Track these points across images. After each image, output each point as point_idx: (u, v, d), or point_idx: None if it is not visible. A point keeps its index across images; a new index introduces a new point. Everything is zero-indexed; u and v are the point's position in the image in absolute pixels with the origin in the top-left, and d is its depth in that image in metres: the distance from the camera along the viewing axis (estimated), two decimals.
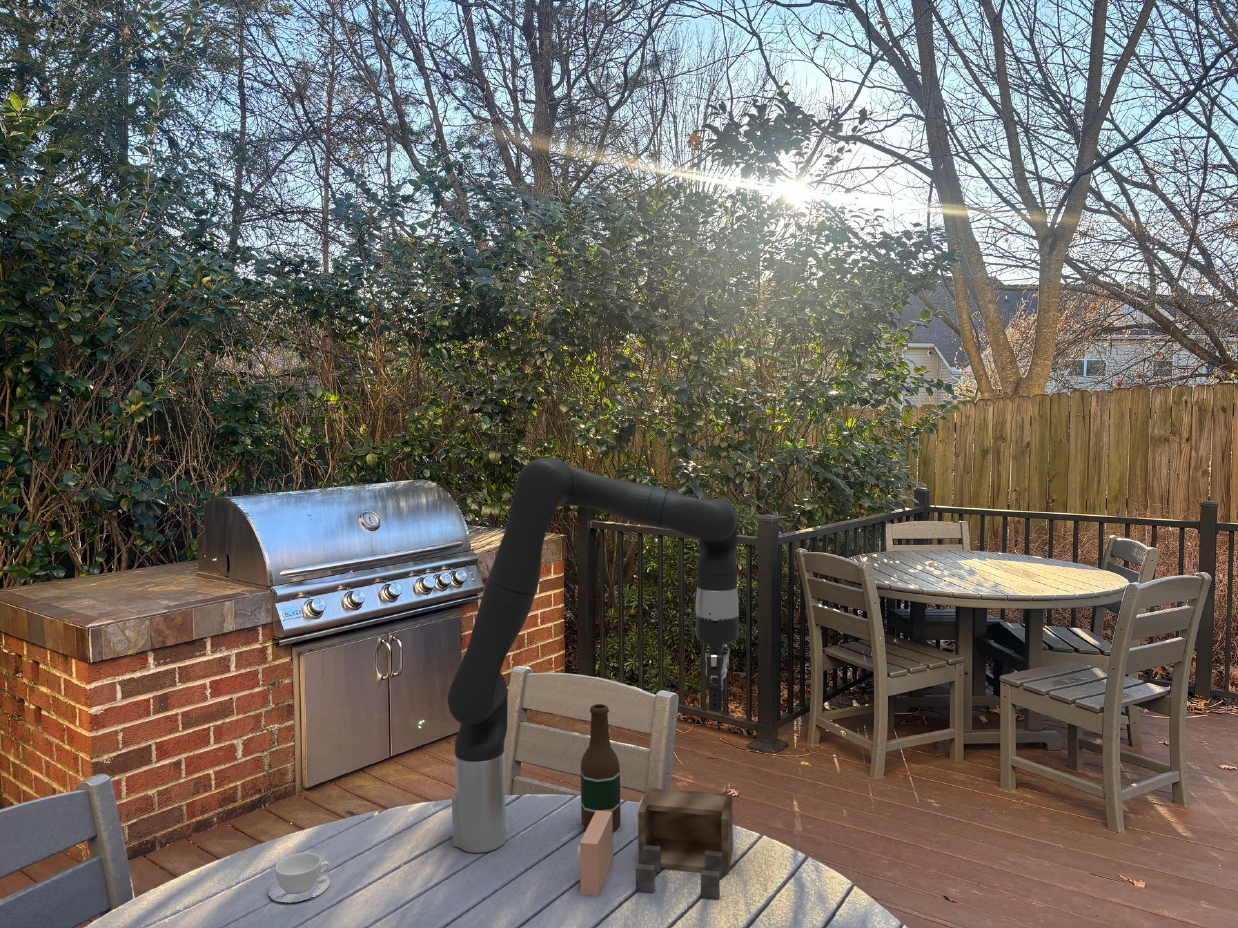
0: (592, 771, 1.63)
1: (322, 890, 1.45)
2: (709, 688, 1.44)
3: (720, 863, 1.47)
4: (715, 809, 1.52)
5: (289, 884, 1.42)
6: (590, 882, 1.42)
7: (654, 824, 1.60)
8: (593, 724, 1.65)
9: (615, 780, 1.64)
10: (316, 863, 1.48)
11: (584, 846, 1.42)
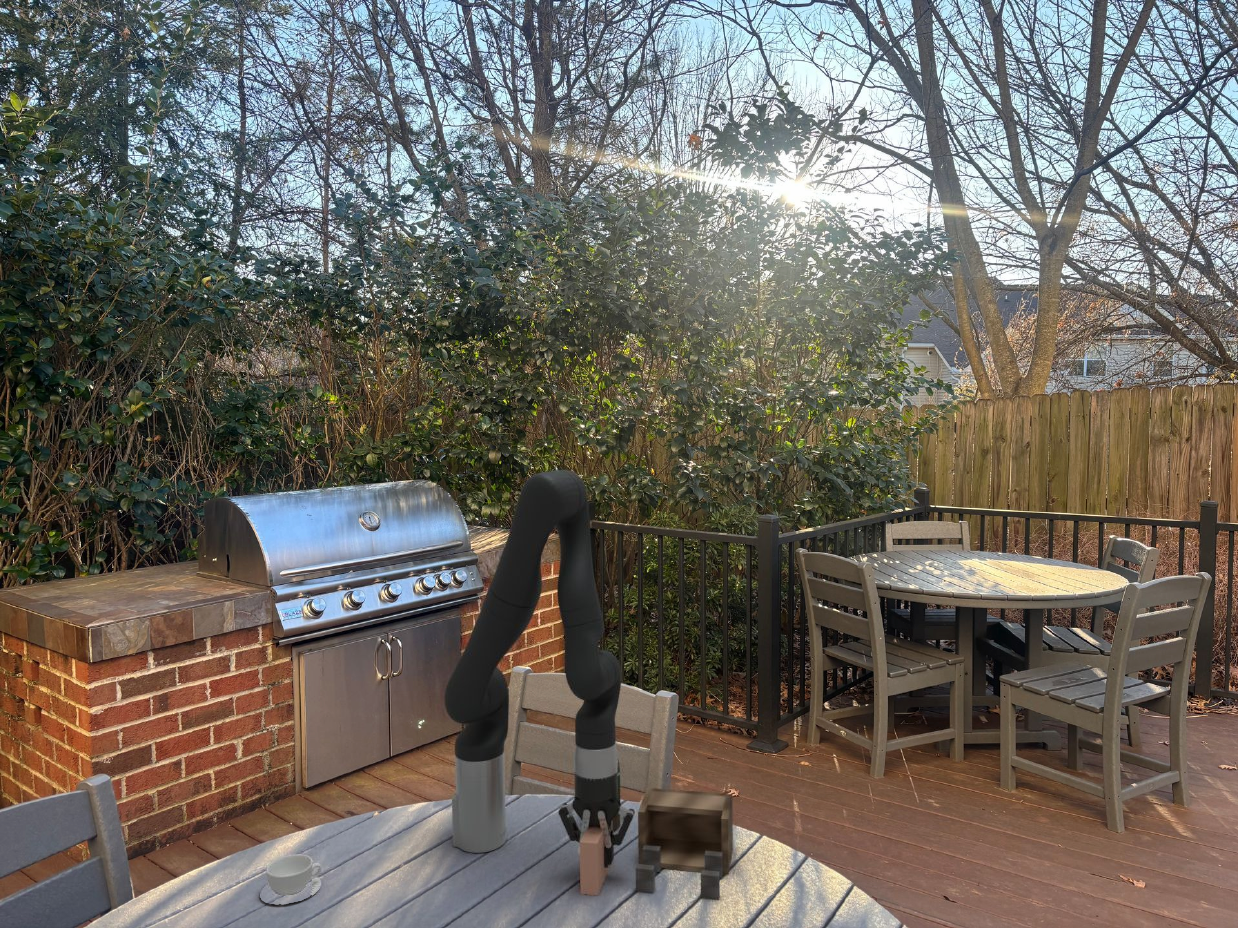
0: None
1: (313, 892, 1.44)
2: None
3: (720, 863, 1.47)
4: (715, 809, 1.52)
5: (281, 886, 1.42)
6: (590, 881, 1.42)
7: (654, 824, 1.60)
8: None
9: None
10: (307, 865, 1.47)
11: (584, 845, 1.42)
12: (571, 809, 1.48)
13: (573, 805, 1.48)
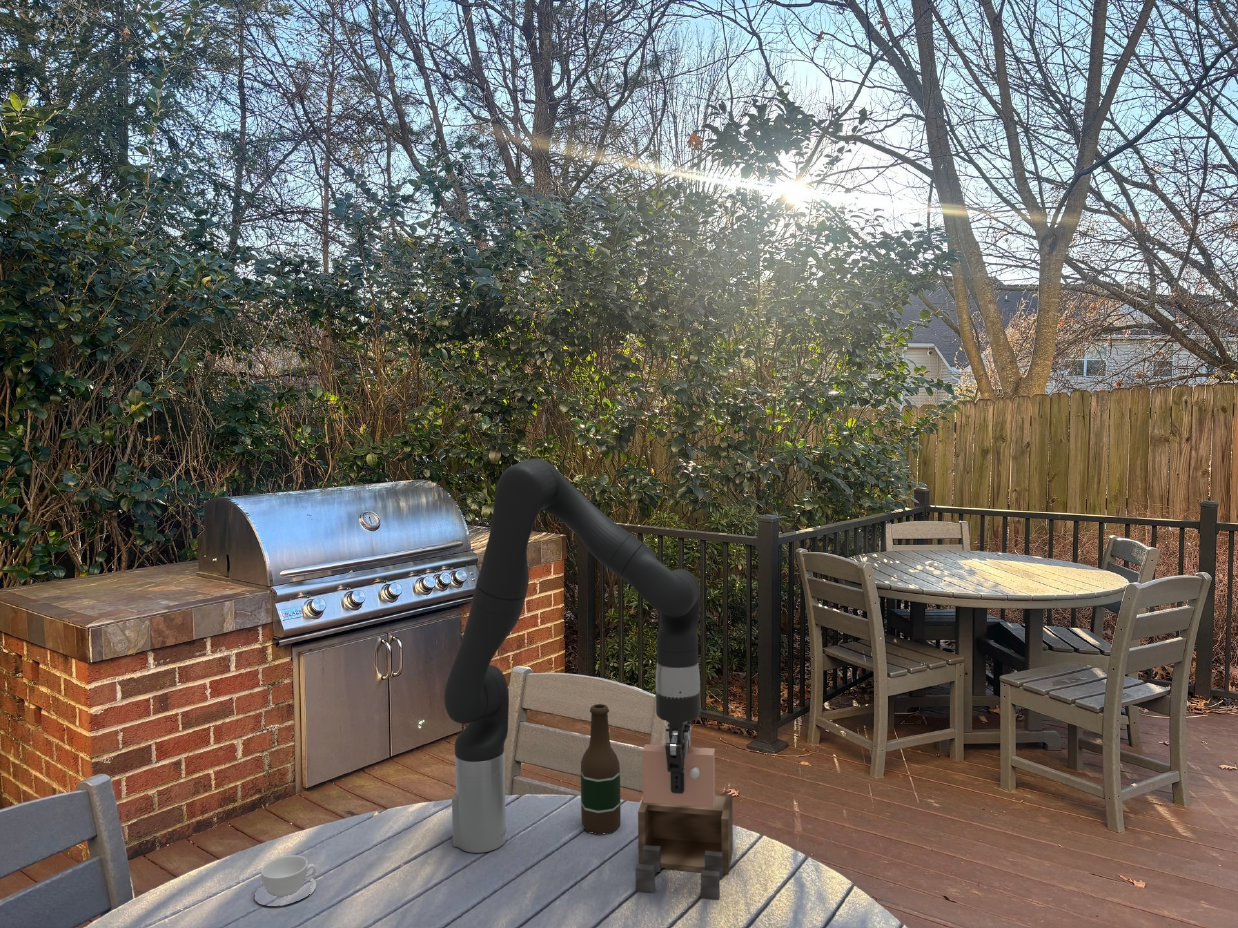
0: (592, 771, 1.63)
1: (309, 893, 1.44)
2: None
3: (720, 863, 1.47)
4: (715, 809, 1.52)
5: (276, 887, 1.41)
6: (714, 790, 1.44)
7: (654, 824, 1.60)
8: (593, 724, 1.65)
9: (615, 780, 1.64)
10: (302, 866, 1.47)
11: (713, 756, 1.43)
12: (677, 741, 1.40)
13: (681, 735, 1.41)
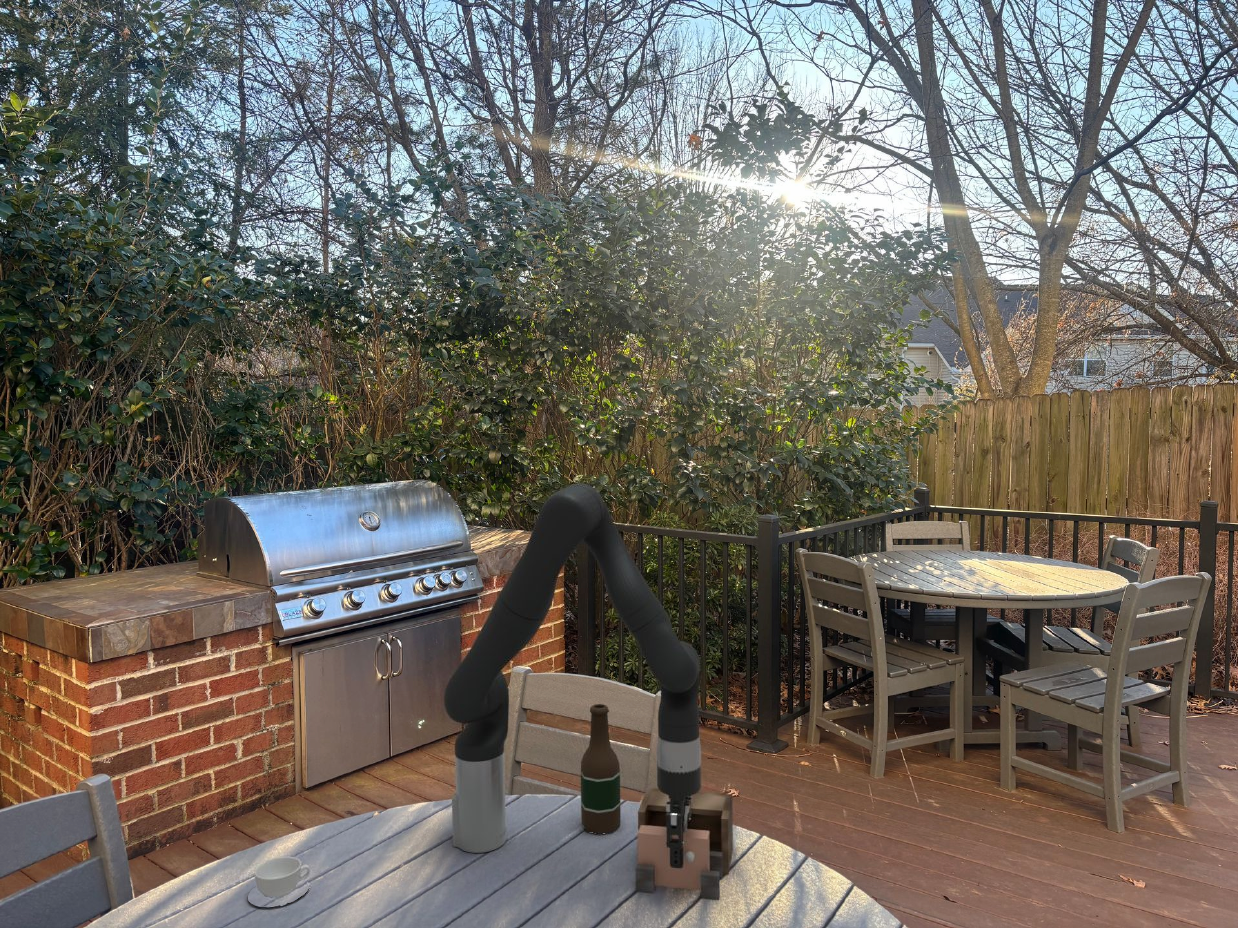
0: (592, 771, 1.63)
1: None
2: None
3: (720, 863, 1.47)
4: (715, 809, 1.52)
5: (270, 888, 1.41)
6: None
7: (654, 824, 1.60)
8: (593, 724, 1.65)
9: (615, 780, 1.64)
10: (296, 867, 1.47)
11: (708, 840, 1.44)
12: None
13: (682, 807, 1.41)
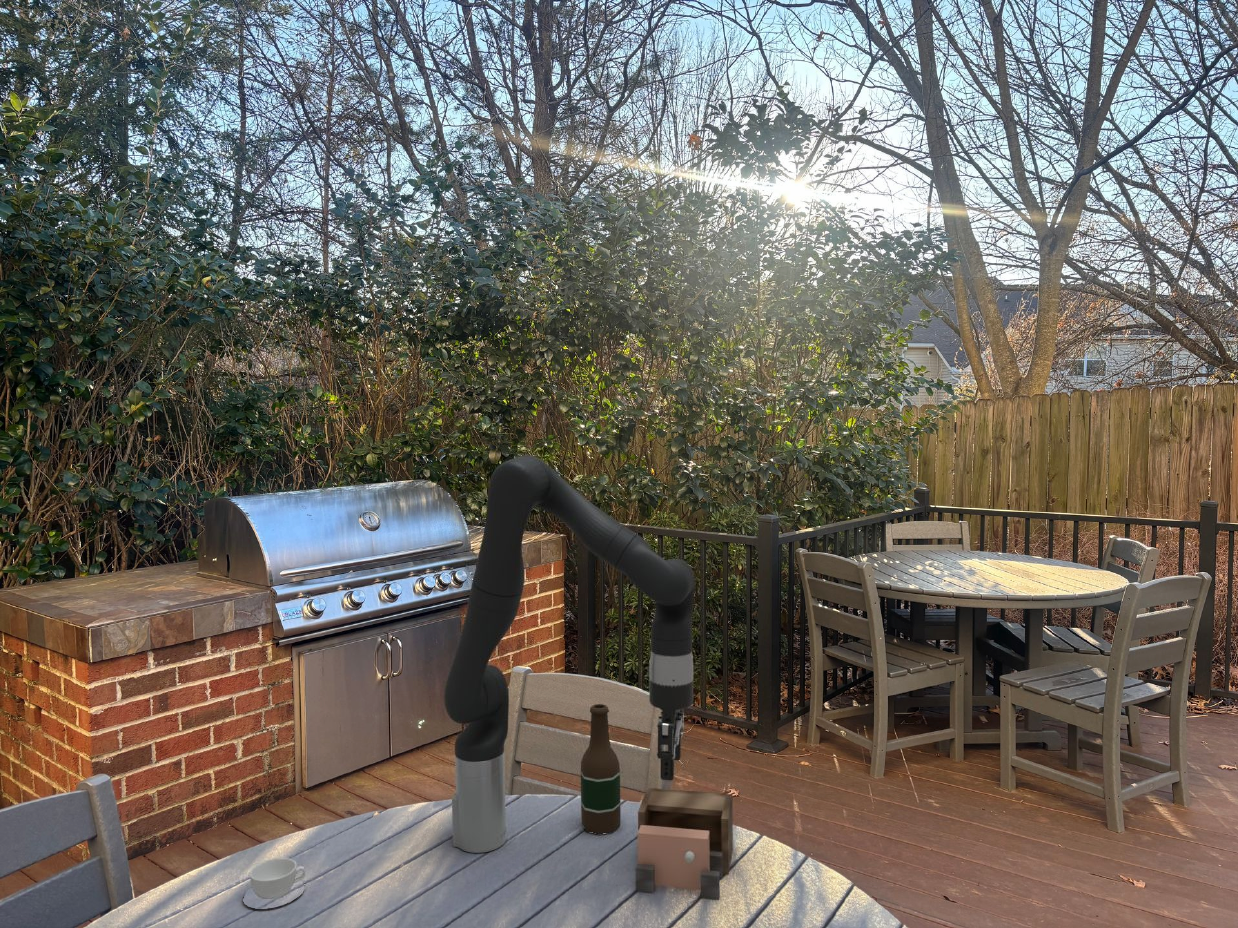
0: (592, 771, 1.63)
1: None
2: None
3: (720, 863, 1.47)
4: (715, 809, 1.52)
5: (264, 890, 1.40)
6: None
7: (654, 824, 1.60)
8: (593, 724, 1.65)
9: (615, 780, 1.64)
10: (291, 868, 1.46)
11: (708, 839, 1.44)
12: None
13: (673, 720, 1.42)
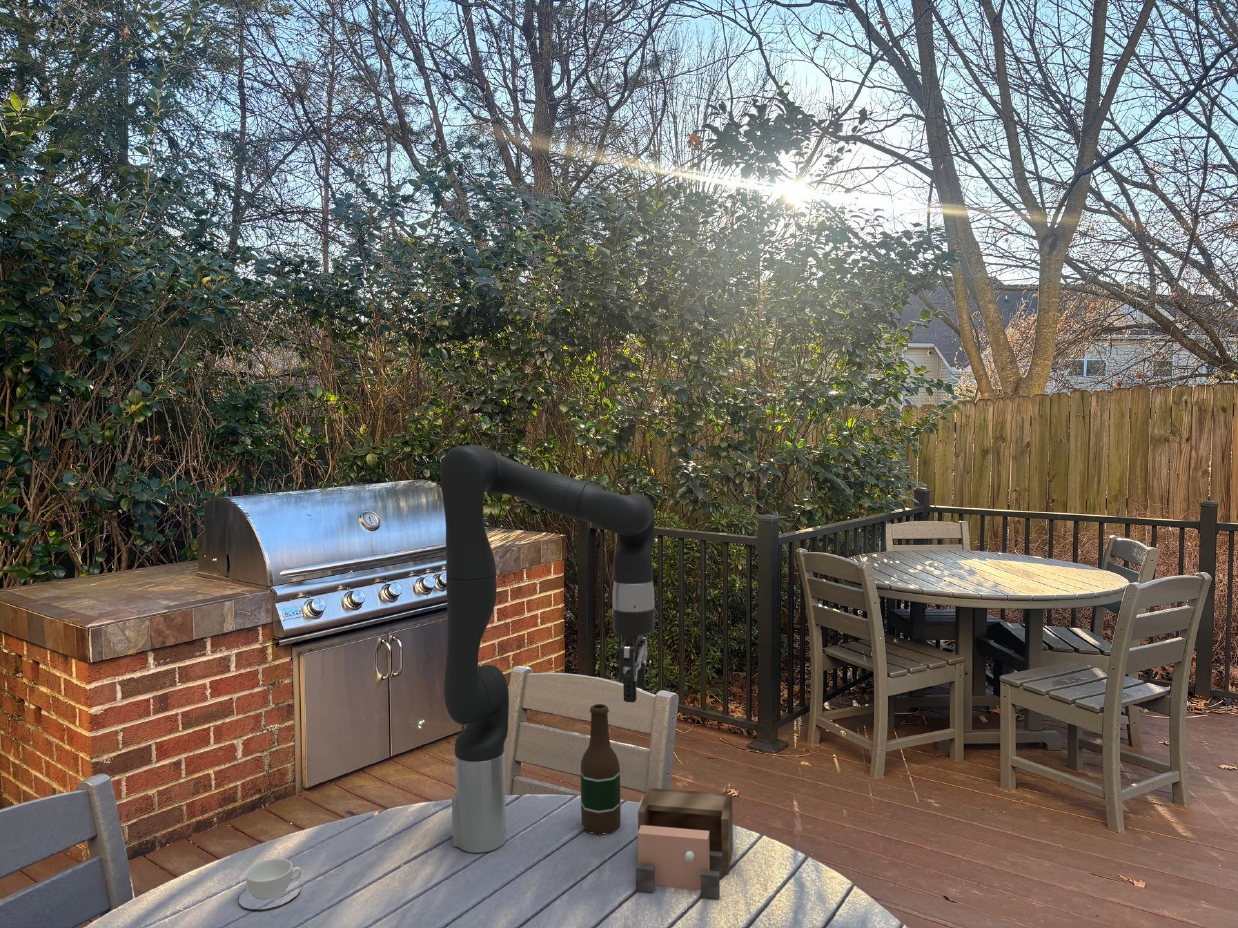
0: (592, 771, 1.63)
1: None
2: None
3: (720, 863, 1.47)
4: (715, 809, 1.52)
5: (260, 890, 1.40)
6: None
7: (654, 824, 1.60)
8: (593, 724, 1.65)
9: (615, 780, 1.64)
10: (287, 869, 1.46)
11: (708, 840, 1.44)
12: None
13: (635, 645, 1.49)
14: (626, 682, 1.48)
